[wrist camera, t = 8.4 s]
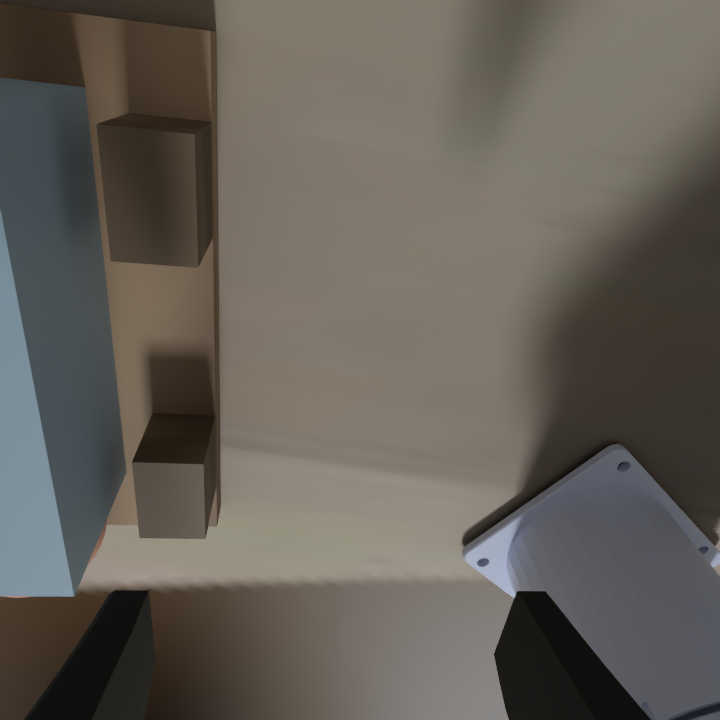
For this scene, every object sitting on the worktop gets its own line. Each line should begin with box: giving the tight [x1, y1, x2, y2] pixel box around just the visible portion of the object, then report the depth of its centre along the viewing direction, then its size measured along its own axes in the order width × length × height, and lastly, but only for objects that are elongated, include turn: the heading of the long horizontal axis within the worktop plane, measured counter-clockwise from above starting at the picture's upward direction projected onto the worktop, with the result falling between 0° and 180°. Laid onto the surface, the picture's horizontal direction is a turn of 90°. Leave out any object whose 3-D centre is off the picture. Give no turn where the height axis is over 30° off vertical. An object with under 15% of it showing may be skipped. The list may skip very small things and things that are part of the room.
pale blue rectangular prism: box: [0, 77, 127, 598], centre depth 14 cm, size 4×14×5 cm, turn 173°
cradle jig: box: [0, 3, 220, 539], centre depth 16 cm, size 10×16×4 cm, turn 174°
